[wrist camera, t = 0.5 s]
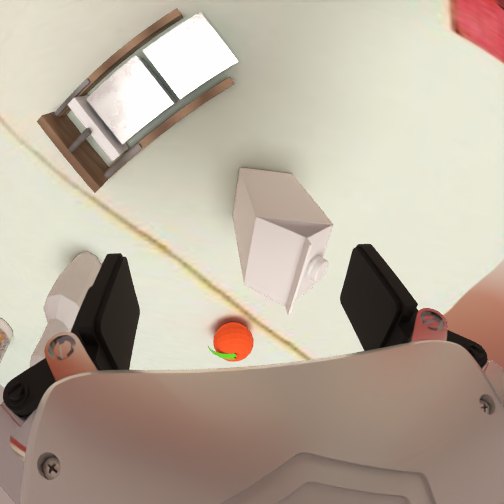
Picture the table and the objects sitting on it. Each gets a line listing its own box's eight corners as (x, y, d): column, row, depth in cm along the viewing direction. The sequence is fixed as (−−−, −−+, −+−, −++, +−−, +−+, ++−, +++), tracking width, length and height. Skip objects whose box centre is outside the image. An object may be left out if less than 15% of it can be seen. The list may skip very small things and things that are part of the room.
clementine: (205, 339, 53) (206, 369, 47) (207, 313, 49) (208, 344, 43) (247, 340, 54) (252, 369, 48) (253, 314, 51) (259, 345, 45)
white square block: (142, 57, 27) (135, 55, 24) (177, 101, 31) (173, 103, 28) (96, 97, 29) (86, 98, 26) (130, 139, 33) (122, 144, 30)
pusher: (87, 95, 28) (74, 97, 24) (128, 147, 33) (120, 154, 29) (80, 101, 28) (67, 104, 25) (122, 153, 33) (112, 161, 30)
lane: (178, 12, 24) (173, 0, 20) (233, 83, 30) (237, 82, 26) (57, 114, 28) (36, 121, 24) (108, 178, 34) (94, 193, 30)
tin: (201, 18, 26) (200, 12, 23) (235, 63, 29) (238, 61, 27) (148, 53, 27) (142, 50, 24) (183, 98, 31) (180, 99, 28)
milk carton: (232, 216, 40) (248, 314, 24) (239, 166, 36) (263, 241, 21) (282, 220, 41) (325, 314, 26) (292, 173, 38) (352, 248, 22)
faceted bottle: (64, 259, 40) (7, 368, 21) (86, 239, 39) (25, 354, 20) (90, 285, 43) (48, 398, 25) (113, 268, 42) (72, 388, 24)
